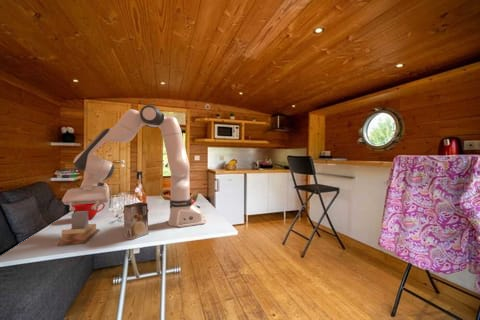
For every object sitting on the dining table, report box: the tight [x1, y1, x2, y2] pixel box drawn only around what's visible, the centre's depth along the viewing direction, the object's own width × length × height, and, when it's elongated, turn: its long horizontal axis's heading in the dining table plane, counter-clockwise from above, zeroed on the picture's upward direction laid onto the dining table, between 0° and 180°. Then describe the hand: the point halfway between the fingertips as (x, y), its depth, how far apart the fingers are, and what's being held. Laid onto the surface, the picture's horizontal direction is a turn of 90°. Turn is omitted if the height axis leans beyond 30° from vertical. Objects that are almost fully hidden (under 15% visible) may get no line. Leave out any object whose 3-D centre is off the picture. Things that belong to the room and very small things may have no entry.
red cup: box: [72, 203, 106, 221], centre depth 133 cm, size 13×17×10 cm
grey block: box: [70, 211, 90, 229], centre depth 102 cm, size 5×5×8 cm
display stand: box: [57, 223, 100, 247], centre depth 103 cm, size 11×16×6 cm
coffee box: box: [123, 201, 149, 241], centre depth 105 cm, size 9×6×16 cm
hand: (82, 210), depth 105 cm, fingers open, 8 cm apart
